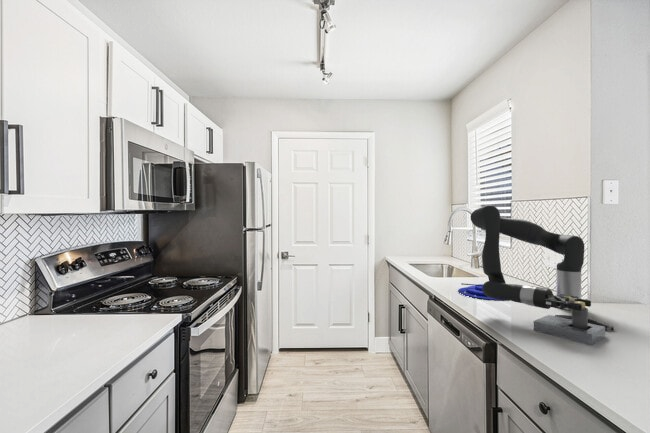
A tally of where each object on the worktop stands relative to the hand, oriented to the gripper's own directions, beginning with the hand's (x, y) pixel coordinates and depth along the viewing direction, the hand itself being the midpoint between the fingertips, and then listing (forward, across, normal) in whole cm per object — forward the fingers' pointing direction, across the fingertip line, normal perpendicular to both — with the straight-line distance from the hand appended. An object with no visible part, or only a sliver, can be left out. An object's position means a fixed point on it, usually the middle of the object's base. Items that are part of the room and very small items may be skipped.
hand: (586, 305), depth 122 cm
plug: (-2, 0, +11) cm, 11 cm away
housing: (-5, 0, +11) cm, 12 cm away
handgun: (-6, +16, +12) cm, 21 cm away
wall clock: (-55, +36, +12) cm, 67 cm away
